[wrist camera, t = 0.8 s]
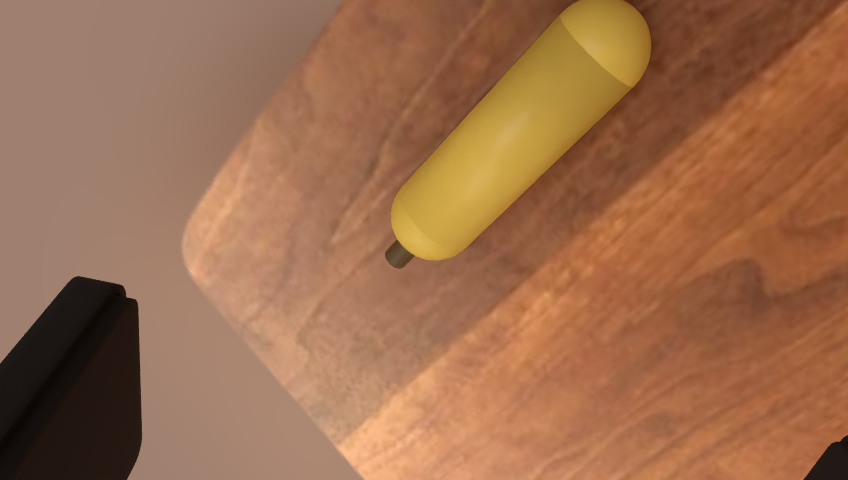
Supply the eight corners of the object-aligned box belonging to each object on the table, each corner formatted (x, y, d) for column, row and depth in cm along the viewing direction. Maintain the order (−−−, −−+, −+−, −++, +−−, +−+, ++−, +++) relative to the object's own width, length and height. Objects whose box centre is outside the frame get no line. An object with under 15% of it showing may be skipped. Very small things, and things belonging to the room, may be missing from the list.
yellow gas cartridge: (586, -42, 25) (615, -1, 22) (654, 18, 26) (688, 63, 24) (358, 212, 31) (359, 269, 29) (423, 249, 33) (429, 305, 30)
